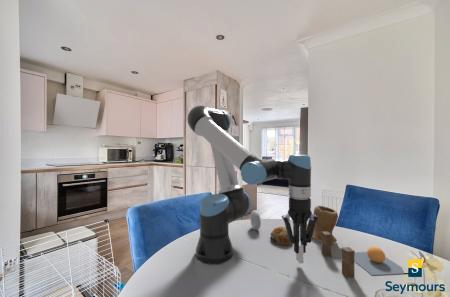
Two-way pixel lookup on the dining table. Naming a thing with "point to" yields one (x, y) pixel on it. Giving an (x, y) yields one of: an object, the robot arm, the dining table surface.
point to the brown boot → (324, 222)
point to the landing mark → (377, 265)
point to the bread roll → (280, 236)
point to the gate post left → (327, 244)
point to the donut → (255, 220)
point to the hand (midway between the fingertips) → (299, 261)
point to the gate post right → (348, 262)
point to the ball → (376, 254)
